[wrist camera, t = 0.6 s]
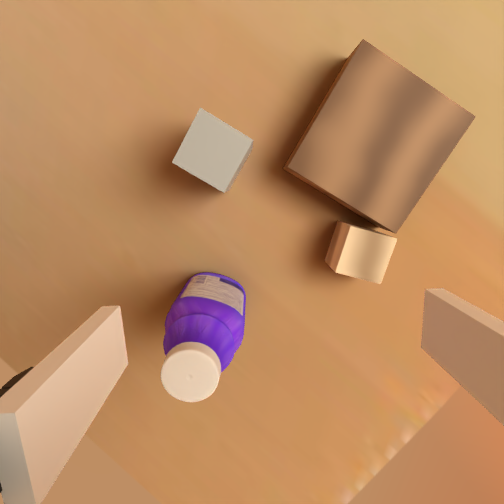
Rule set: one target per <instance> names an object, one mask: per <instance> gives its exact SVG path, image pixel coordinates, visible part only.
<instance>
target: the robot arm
mask: <svg viewBox="0 0 504 504" xmlns="http://www.w3.org/2000/svg"><path fill="white" fill-rule="evenodd" d="M421 348H422V349H423V350H424V351H425V352H426V353H428V354H429V355H430V356H431V357H432V358H433V359H434V360H435V361H436V362H437V363H438V364H439V365H440V366H441V367H442V368H443V369H444V370H446V371H447V372H448V373H449V374H450V375H451V376H452V377H453V378H454V379H455V380H456V381H457V382H458V383H459V384H460V385H461V386H462V387H464V388H465V389H466V390H467V391H468V392H469V393H470V394H471V395H472V396H473V397H474V398H475V399H476V400H477V401H478V402H479V403H480V404H482V405H483V406H484V407H485V408H486V409H487V410H488V411H489V412H490V413H491V414H492V415H493V416H494V417H495V418H496V419H497V420H499V422H501V423H502V424H503V425H504V321H502V320H500V319H498V318H496V317H495V316H493V315H491V314H489V313H487V312H485V311H484V310H482V309H480V308H478V307H476V306H474V305H473V304H471V303H469V302H467V301H465V300H463V299H462V298H460V297H458V296H456V295H454V294H452V293H451V292H449V291H447V290H445V289H443V288H437V289H425V298H424V312H423V327H422V341H421ZM127 365H128V358H127V351H126V344H125V337H124V330H123V323H122V316H121V309H120V305H119V306H102V307H101V308H100V309H99V310H97V311H96V312H95V313H94V314H93V315H92V316H91V317H90V318H88V319H87V320H86V321H85V322H84V323H83V324H82V325H81V326H80V327H78V328H77V329H76V330H75V331H74V332H73V333H72V334H71V335H70V336H68V337H67V338H66V339H65V340H64V341H63V342H62V343H61V344H60V345H58V346H57V347H56V348H55V349H54V350H53V351H52V352H51V353H49V354H48V355H47V356H46V357H45V358H44V359H43V360H42V361H41V362H39V363H38V364H37V365H36V366H35V367H30V368H28V369H27V370H25V371H23V372H21V373H20V374H18V375H16V376H14V377H13V378H12V379H11V380H10V381H8V382H7V383H6V384H5V385H4V386H3V387H2V389H0V493H2V497H3V501H4V504H41V503H42V501H43V499H44V498H45V496H46V495H47V493H48V492H49V490H50V488H51V487H52V485H53V483H54V482H55V480H56V479H57V477H58V475H59V474H60V472H61V471H62V469H63V467H64V466H65V464H66V463H67V461H68V459H69V458H70V456H71V454H72V453H73V451H74V450H75V448H76V447H77V445H78V443H79V442H80V440H81V439H82V437H83V435H84V434H85V432H86V431H87V429H88V427H89V426H90V424H91V423H92V421H93V419H94V418H95V416H96V415H97V413H98V411H99V410H100V408H101V407H102V405H103V403H104V402H105V400H106V399H107V397H108V395H109V394H110V392H111V391H112V389H113V387H114V386H115V384H116V383H117V381H118V379H119V378H120V376H121V375H122V373H123V371H124V370H125V368H126V367H127Z"/></svg>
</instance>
